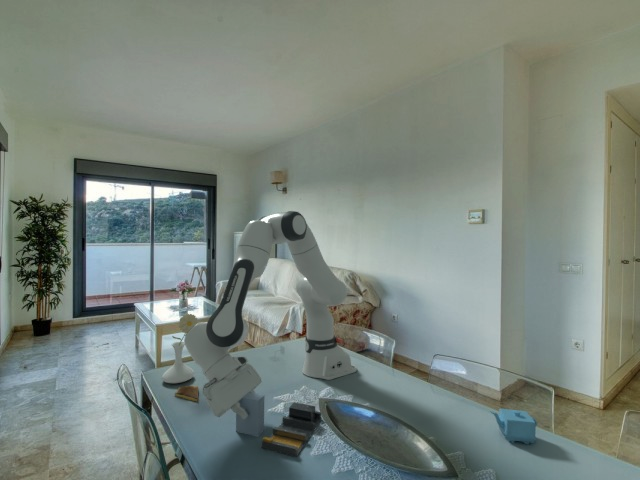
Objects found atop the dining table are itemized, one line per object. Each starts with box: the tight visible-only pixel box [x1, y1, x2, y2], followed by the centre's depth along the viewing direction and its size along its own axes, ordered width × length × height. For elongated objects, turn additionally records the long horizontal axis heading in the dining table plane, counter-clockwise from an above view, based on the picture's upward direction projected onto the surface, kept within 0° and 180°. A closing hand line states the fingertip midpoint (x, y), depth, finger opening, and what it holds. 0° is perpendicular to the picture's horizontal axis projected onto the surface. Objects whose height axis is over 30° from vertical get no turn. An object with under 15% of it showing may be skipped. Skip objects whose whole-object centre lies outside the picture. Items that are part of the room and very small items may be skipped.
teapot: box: [490, 408, 538, 445], centre depth 94 cm, size 12×6×8 cm, turn 79°
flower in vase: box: [161, 313, 200, 384], centre depth 129 cm, size 13×11×25 cm
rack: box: [261, 401, 323, 458], centre depth 95 cm, size 10×19×4 cm, turn 160°
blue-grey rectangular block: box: [235, 392, 265, 437], centre depth 96 cm, size 7×4×10 cm, turn 70°
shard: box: [174, 385, 200, 402], centre depth 116 cm, size 11×8×2 cm
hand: (252, 412), depth 96 cm, fingers open, 4 cm apart
